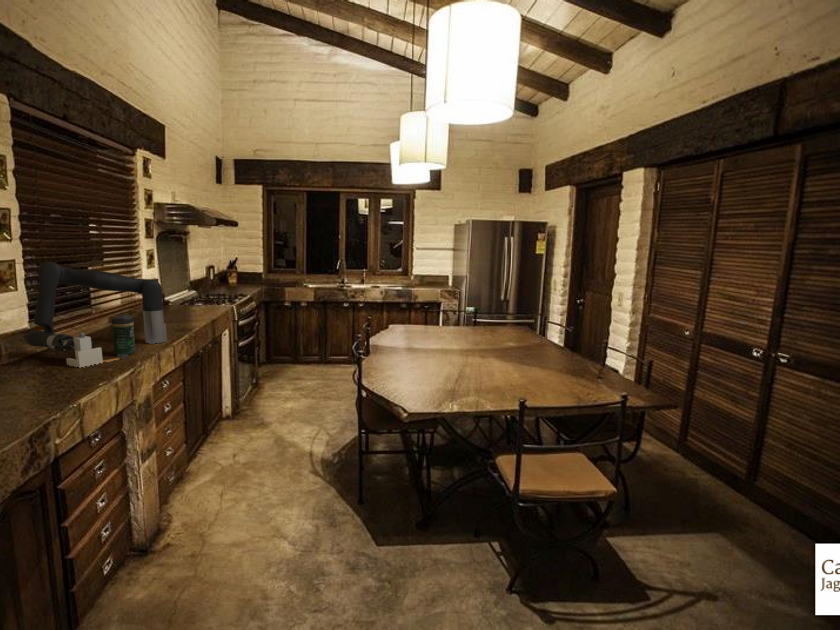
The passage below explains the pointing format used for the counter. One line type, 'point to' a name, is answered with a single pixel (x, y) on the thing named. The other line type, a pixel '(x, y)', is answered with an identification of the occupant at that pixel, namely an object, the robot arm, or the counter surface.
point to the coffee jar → (123, 334)
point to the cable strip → (111, 360)
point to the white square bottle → (82, 343)
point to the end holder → (86, 358)
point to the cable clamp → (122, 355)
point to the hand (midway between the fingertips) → (82, 346)
